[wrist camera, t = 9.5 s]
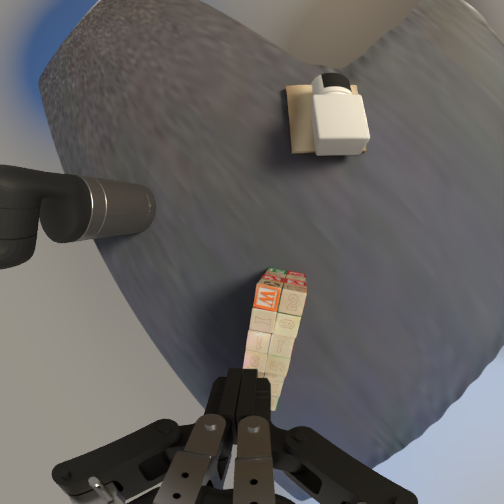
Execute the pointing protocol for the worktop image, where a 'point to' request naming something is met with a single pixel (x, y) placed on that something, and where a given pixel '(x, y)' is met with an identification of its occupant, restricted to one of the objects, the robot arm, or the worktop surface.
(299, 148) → the maple board
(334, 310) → the worktop surface
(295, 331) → the stack of blocks
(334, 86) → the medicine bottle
